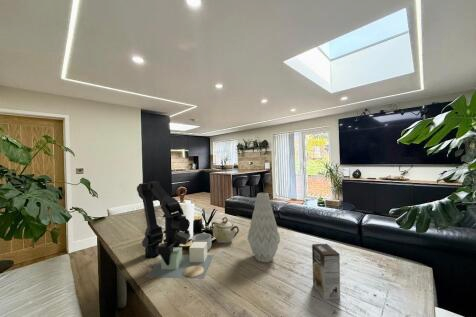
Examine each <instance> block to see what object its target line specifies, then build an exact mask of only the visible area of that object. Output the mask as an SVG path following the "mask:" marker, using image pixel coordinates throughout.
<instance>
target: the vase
mask: <svg viewBox="0 0 476 317" xmlns="http://www.w3.org/2000/svg"><path fill="white" fill-rule="evenodd" d="M246 239H247V241H248V243H249V246H250V247H249V248H250V250H251V252H252V254H253V255H254V257H255V260H256V261H257V262H261V263H269V262H271V261H273V259H274V257H275V256H276V254H277V251H278V247H279V244H280V242H281V236H280V233H279V230H278V224H277V222H276V219H275V214H274V211H273V207H272V203H271V200H270V196H269V193H268V192H267V193H266V192H260V193H259V192H258V193H257V194H256V199H255V203H254V208H253V211H252V217H251V220H250V226H249V229H248V233H247V238H246Z"/></svg>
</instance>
